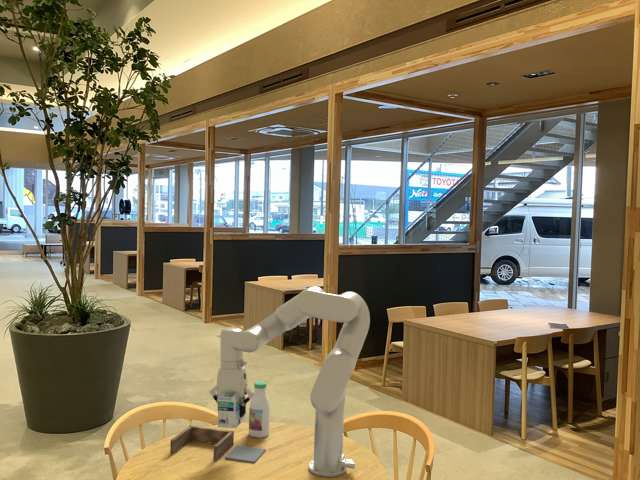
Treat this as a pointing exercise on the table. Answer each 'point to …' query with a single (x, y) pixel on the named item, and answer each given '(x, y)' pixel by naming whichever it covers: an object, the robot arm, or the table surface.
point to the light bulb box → (229, 411)
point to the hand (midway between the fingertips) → (231, 414)
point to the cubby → (204, 439)
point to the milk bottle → (259, 412)
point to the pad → (245, 454)
